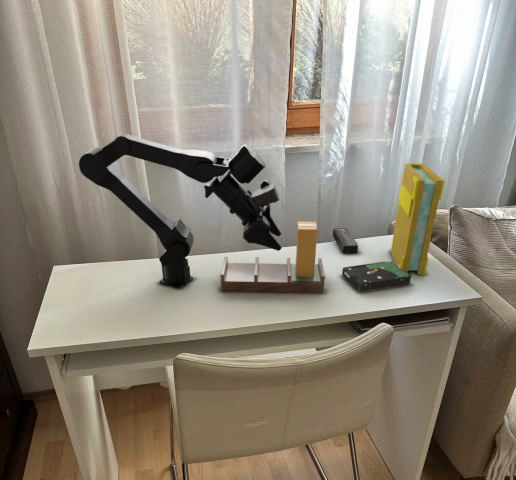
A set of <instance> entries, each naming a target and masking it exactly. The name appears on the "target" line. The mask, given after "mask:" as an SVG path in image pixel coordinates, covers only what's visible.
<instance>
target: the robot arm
mask: <svg viewBox="0 0 516 480" xmlns="http://www.w3.org/2000/svg"><path fill="white" fill-rule="evenodd" d="M125 156H129V157H132V158H135V159H139V160H143V161H147V162H150V163H154V164H157V165H160V166H164V167H167V168H172V169H175V170H177V171H178V172H179V173H180V172H181V173H182V174H183V175H185V176H186V177H188V178H190V179H192V180H194V181H196V182H198V183H201V184H204V186H203V188H204V198H205V199H209V198H210V196H211V195H212V194H214V195H215V196H216V197H217V198H218V199H219V200H220V201H221V202H222V203H223V204H224V205H225V206H226V207H227V208H228V209H229V210H228V212H229V213H230V214H231V215H233V214H234V215H235V216H236V217H238V219H239V220H240V221H241V225H242V226H244V227H243V231H242V233H243V234H242V235H243V237H242V238H243V240H245V242H247V243H248V244H254V245H255V244H256V245H258V246H262V247H266V248H269V249H272V250H275V251H278V252H279V251H281V250H282V245H281V244H280V242H279V241H278V240H277V238H276V237H280V236H281V235H282V232H281V230H280V228H279V227H278V225H277V223H276V222H275V220H274V218H273V216H272V214H271V204H275V203H277V202H279V201H280V194H279V191H278V189H277V186H276V184H275V183H274V182H270V181H269V180H267V179H264V180H262V181H261V182H260V188H257V190H255V191H252V190H251V189H250V188H249V189H248V188H246V189H245V188H244V187H243V186H242V185H241V184H243V185H245V184H250V183H251V182H252V181H253V180H254V179H255V178H256V177H257V176H258V175H259V174H260V173H261V172H262V171H263V170H264V169H265V168H266V167H267V165H266V163H265V161H264V160H263V158H262V157H261V156H260V155H259V154H258V152H256V151H254V150H253V149H252V148H250V147H249V146H247V144H243V145H241V147H240V148H239V149H238V151H237V152H236V153H235V154H234V155H233V156H232V157H231V158H229V157H224V156H223V157H222V156H216V154H215V153H213V152H211V151H209V150H201V149H180V148H177V147H172V146H170V145H166V144H163V143H159V142H155V141H152V140H149V139H144V138H141V137H138V136H135V135H132V134H130V133H128V132H123V133H120V134H119V135H117V137H116V138H114V139H113V140H112V141H110V142H109V143H107V144H106V145H104V146H103V147H96V146H95V147H92V148H91V149H90V150H88V151H87V152H85V153H84V154H83V155H81V156H80V158H79V160H78V167H79V171H80V173H81V174H82V176H83V177H85V178H86V179H88V180H90V181H91V182H92V183H93V184H95V185H97V186H98V187H101V188H103V189H106V190H107V191H110V192H111V193H112V194H113V195H115V197H116V198H117V199H119V200H120V201H121V202H122V203H123V204H124V205H125V206H126V207H127V208H128V209H129V210H130V211H131V212H132V213H134V214H135V215H136V216H137V217H138V218H139V219H140V220H141V222H144V224H146V226H147V227H149V228H150V229H151V230H152V231H153V232H154V233H155V234H156V236H157V238H158V240H159V242H160V243H161V246H162V247H163V250H162V251H161V253H160V256H159V259H158V260H159V262H160V265H161V273H162V279H160V280H159V284H161V285H164V286H168V287H172V288H176V289H181V288H182V287H184V286H185V285H187V284H188V283H190V282H191V281H192V280H193V279H194V276H192V275H191V267H190V265H189V259H188V258H187V257H188V256H189V255H190V252H191V250H192V247H193V245H194V235H193V234H194V233H192V228H191V227H189V226H188V225H186V224H185V223H184V221H183V220H182V219H181V218H178V219H177V220H176V221H174V220H172V219H170V218H168V217H167V216H166V215H165V214H163V212H162V211H161V210H159V209H158V208H157V207H156V206H155V205H154V204H153V203H152V202H151V201H150V200H149V199H148V198H147V197H146V196H145V195H144V194H143V193H142V192H141V191H139V190H138V188H137V187H135V186H134V185H133V184H132V183H131V182H130V181H129V180H128V179H127V178H126V177H125V176H124V174H123V172H122V171H121V169H120V166H119V165H118V163H117V161H118V160H120V159H121V158H122V157H125ZM209 182H210V183H209ZM275 236H276V237H275Z"/></svg>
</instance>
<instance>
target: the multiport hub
mask: <svg viewBox="0 0 516 480" xmlns="http://www.w3.org/2000/svg"><path fill="white" fill-rule="evenodd" d="M332 237H333V239H334V241H335V243H336V244H337V246H338V248H339V250H340V251H341V253H342V254H358V251H359V244H358V243H357V241H356V240H355V239H354V237H353V236H352V234H351V233H350V231H349V230H348V228H346V227H343V228H339V227H337V228H333V229H332Z"/></svg>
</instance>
